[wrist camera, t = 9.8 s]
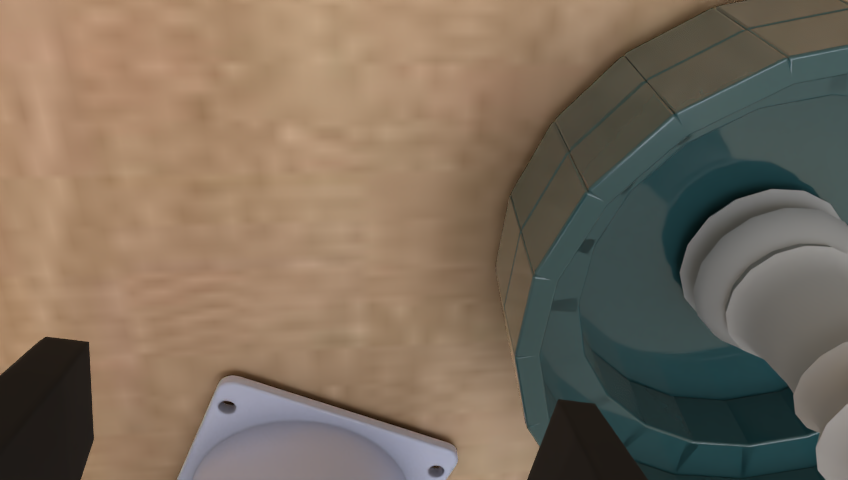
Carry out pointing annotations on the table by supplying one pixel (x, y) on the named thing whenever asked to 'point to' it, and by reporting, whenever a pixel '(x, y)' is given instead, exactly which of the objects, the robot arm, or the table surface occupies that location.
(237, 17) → the table surface
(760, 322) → the rook chess piece
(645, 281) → the teal bowl
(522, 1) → the table surface
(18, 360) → the robot arm
